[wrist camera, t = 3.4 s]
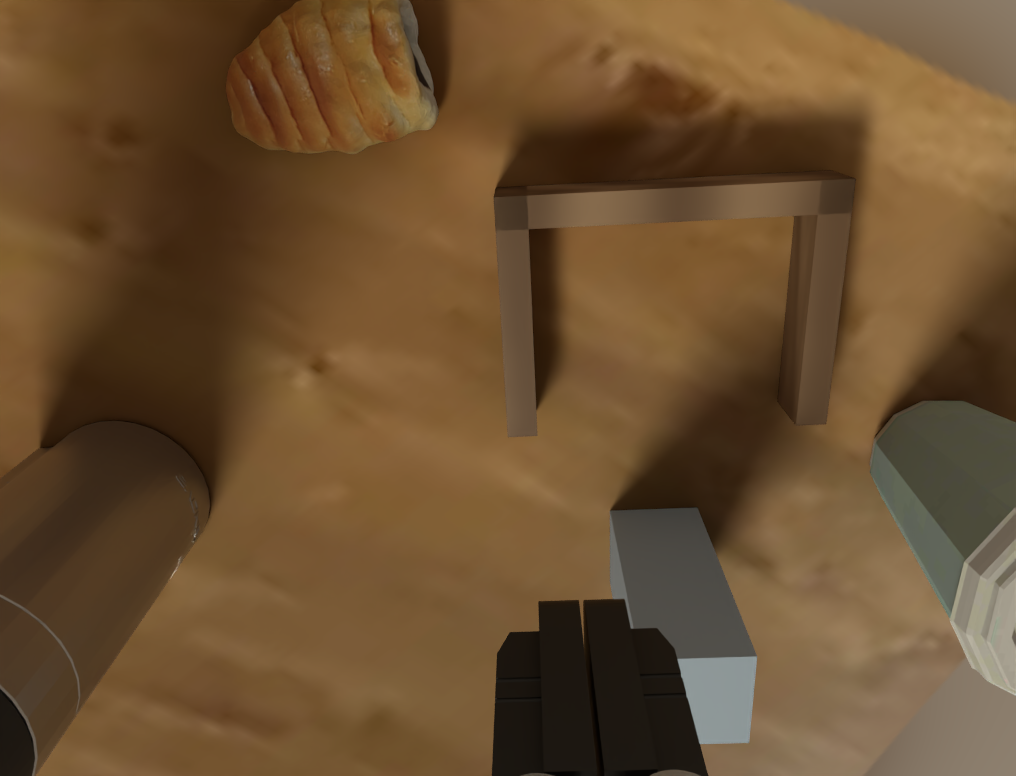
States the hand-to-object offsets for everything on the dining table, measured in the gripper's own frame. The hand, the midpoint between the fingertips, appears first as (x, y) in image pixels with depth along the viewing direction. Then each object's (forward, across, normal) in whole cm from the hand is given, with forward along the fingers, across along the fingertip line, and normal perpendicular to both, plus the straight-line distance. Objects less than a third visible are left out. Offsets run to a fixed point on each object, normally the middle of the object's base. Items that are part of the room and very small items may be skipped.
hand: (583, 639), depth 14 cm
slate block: (+27, +6, -17) cm, 32 cm away
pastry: (+28, -9, +9) cm, 30 cm away
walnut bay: (+27, +6, -2) cm, 28 cm away
